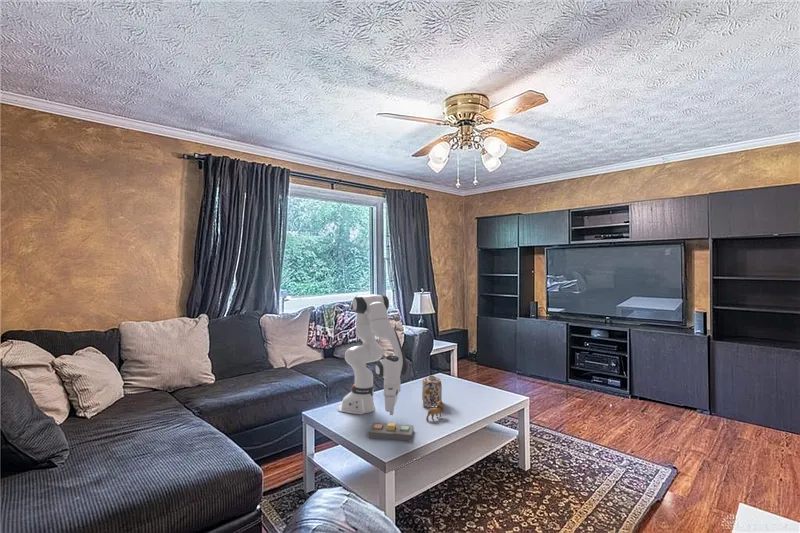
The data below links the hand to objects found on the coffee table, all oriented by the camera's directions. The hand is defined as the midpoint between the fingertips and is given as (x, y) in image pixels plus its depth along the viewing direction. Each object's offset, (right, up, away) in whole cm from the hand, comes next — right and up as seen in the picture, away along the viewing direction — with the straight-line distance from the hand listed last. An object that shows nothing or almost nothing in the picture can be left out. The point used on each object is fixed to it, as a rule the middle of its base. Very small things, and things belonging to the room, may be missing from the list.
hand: (391, 414), depth 204 cm
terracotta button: (-7, -10, +1) cm, 13 cm away
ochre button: (0, -9, 0) cm, 9 cm away
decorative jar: (+24, -11, +46) cm, 53 cm away
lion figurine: (+24, -11, +22) cm, 35 cm away
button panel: (0, -11, 0) cm, 11 cm away
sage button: (+7, -11, -1) cm, 12 cm away
